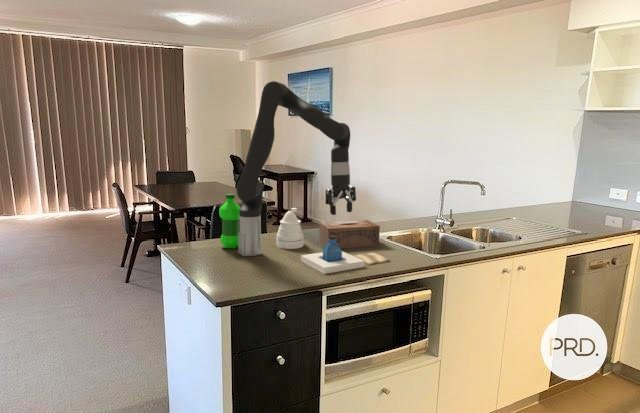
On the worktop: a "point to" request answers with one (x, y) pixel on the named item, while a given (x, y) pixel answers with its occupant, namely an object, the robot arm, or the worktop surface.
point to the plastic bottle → (230, 222)
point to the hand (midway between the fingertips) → (341, 213)
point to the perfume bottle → (332, 250)
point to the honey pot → (290, 232)
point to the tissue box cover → (350, 233)
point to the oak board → (372, 258)
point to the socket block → (325, 267)
